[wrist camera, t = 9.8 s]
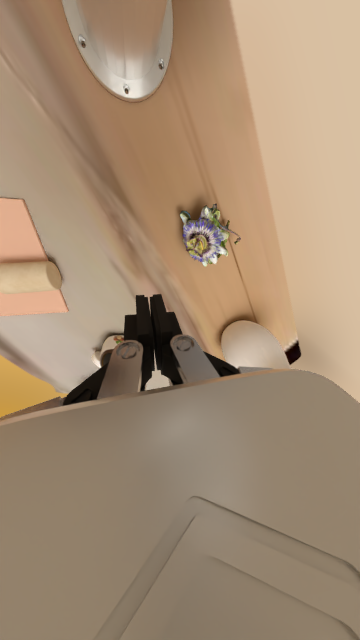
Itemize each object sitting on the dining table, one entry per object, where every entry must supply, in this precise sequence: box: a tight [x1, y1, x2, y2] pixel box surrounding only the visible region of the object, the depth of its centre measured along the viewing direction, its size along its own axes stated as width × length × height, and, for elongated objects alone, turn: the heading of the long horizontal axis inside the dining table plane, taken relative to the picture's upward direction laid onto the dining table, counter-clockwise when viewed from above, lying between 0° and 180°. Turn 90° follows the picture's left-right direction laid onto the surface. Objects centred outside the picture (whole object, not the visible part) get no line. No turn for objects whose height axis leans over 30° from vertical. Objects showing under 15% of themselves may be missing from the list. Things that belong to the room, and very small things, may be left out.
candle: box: [0, 261, 62, 294], centre depth 30 cm, size 6×6×10 cm
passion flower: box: [180, 204, 241, 267], centre depth 34 cm, size 11×11×12 cm
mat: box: [0, 198, 69, 316], centre depth 31 cm, size 22×15×1 cm
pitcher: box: [221, 320, 291, 369], centre depth 51 cm, size 24×17×28 cm
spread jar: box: [92, 334, 124, 368], centre depth 45 cm, size 12×11×12 cm
